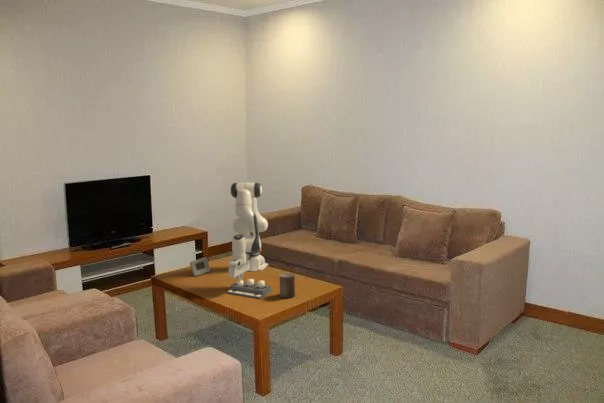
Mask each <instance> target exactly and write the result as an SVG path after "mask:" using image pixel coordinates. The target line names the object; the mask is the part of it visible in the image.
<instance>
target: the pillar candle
mask: <svg viewBox="0 0 604 403" xmlns="http://www.w3.org/2000/svg"><path fill="white" fill-rule="evenodd" d="M278 276H279V297H280V298H282V299H283V298H284V299H291V298H294V297H295V296H296V287H295V286H296V283H295V282H296V281H295V280H296V278H295V273H292V272H282V273H280V274H278Z"/></svg>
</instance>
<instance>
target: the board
mask: <svg viewBox="0 0 604 403" xmlns="http://www.w3.org/2000/svg"><path fill="white" fill-rule="evenodd" d="M271 286H272V285H268V284H265V288H264V289H258V283H256V282H254V287H247V281H243V285H242V286H239V285H237V281H236V282H234V283H232V284H231V285H230V288H229V290H227V291H226V294H230V295H234V296H241V297H247V298H252V299H259V300H261V299H263V298H265V297H266V296H267V295H269V294H270V293H272V292H273V290H272V287H271Z"/></svg>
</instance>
